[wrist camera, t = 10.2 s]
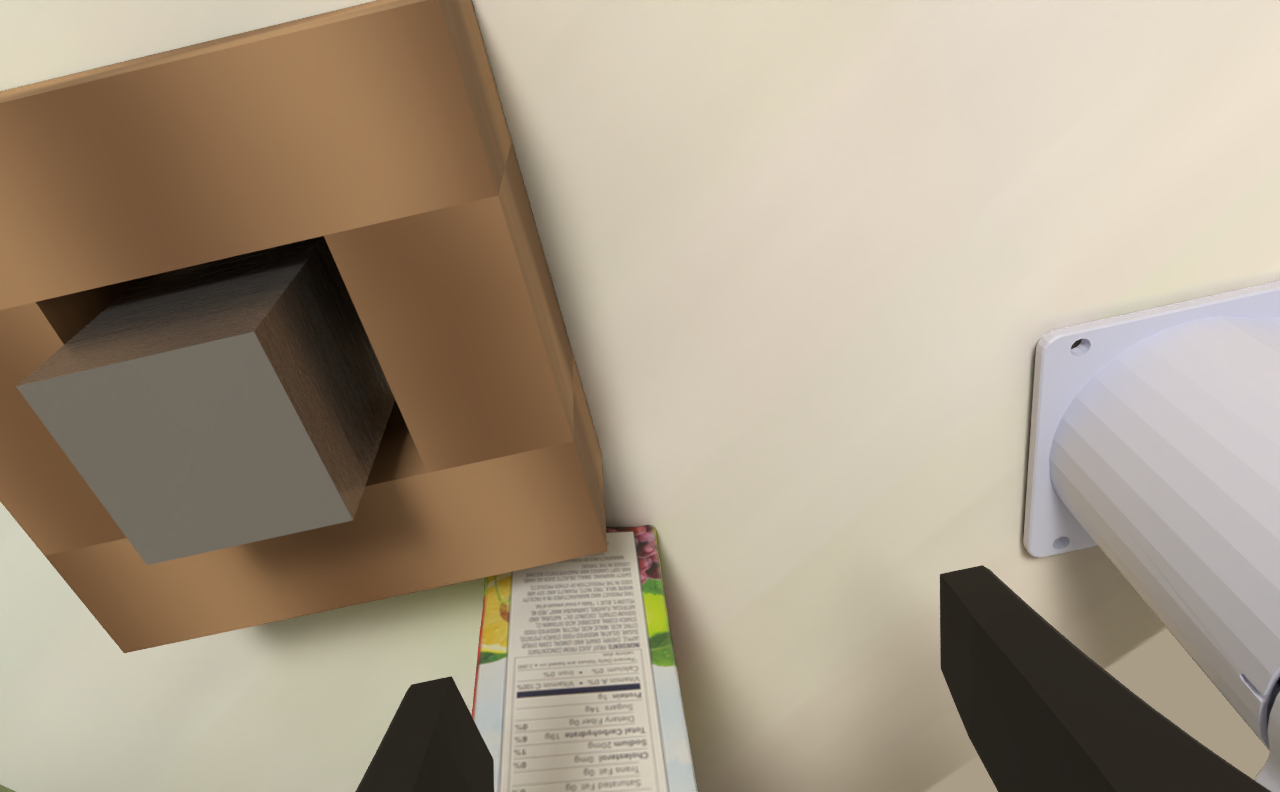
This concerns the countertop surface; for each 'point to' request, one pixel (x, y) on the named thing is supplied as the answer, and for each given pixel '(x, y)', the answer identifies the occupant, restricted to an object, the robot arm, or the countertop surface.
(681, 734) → the snack box
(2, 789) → the grocery bag
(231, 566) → the socket block
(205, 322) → the square bit
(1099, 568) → the countertop surface
